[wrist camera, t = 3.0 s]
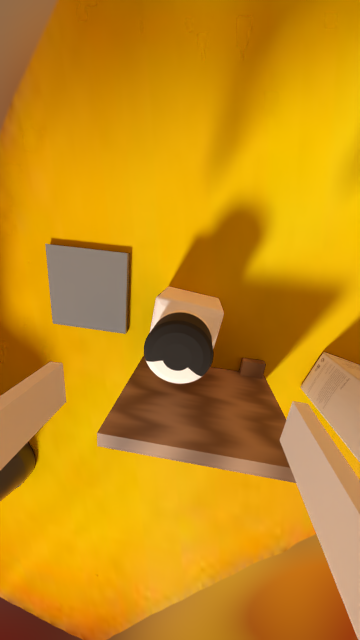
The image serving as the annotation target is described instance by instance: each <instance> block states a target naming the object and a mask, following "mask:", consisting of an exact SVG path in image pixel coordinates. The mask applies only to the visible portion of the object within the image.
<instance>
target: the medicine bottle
mask: <svg viewBox="0 0 360 640" xmlns="http://www.w3.org/2000/svg"><path fill="white" fill-rule="evenodd" d="M223 316H224V311H223V309H222V306H221V303H220V300H219V298H216V297H212V296H207V295H203V294H199V293H195V292H191V291H186V290H182V289H178V288H174V287H167V288H166V289H165V290H164V291H163V292H162V293H160V294H159V295H158V296H157V297H156V301H155V307H154V312H153V318H152V323H151V329H150V333H149V335H148V336H147V338H146V341H145V345H144V356H145V359H146V362H147V364H148V366H149V368H150V369H151V370H152V371H153V372H154V373H155V374H156V375H157V376H158V377H160V378H162V379H163V380H166V381H168V382H172V383H179V384H182V383H189V382H193V381H195V380H197V379H199V378H201V377H202V376H203V375H204V374H205V373H206V372H207V371H208V370H209V368H210V366H211V364H212V360H213V349H214V346H215V343H216V339H217V336H218V333H219V329H220V326H221V323H222V319H223Z"/></svg>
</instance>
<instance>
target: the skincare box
mask: <svg viewBox="0 0 360 640" xmlns="http://www.w3.org/2000/svg"><path fill="white" fill-rule="evenodd" d="M301 389H302V390H303V391H304V393H305V394H306V395H307V396H308V398H309V399H310V400H311V401H312V403H313V404H314V405H315V407H316V408H317V409H318V410H319V412H320V413H321V414H322V415H323V417H324V418H325V419H326V420H327V421H328V423H329V424H330V425H331V427H332V428H333V429H334V430H335V432H336V433H337V434H338V435H339V437H340V438H341V439H342V440H343V442H344V443H345V444H346V445H347V447H348V448H349V449H350V450H351V452H352V453H353V454H354V455H355V457H356V458H357V459H358V460H359V462H360V365H359V364H356V363H353V362H351V361H348V360H345V359H343V358H340V357H337V356H334V355H331V354H328V353H325V352H323V354H322V355H321V356H320V358H319V359H318V361H317V362H316V364H315V365H314V367H313V368H312V370H311V371H310V373H309V375H308V376H307V378H306V379H305V381H304V382H303V384H302V386H301Z"/></svg>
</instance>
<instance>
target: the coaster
mask: <svg viewBox="0 0 360 640" xmlns="http://www.w3.org/2000/svg"><path fill="white" fill-rule="evenodd" d="M46 255H47V265H48V276H49V287H50V297H51V308H52V319H53V323H54V324H61V325H68V326H75V327H82V328H89V329H96V330H103V331H110V332H117V333H124V334H126V333H127V330H128V293H129V256H130V253H122V252H114V251H105V250H96V249H87V248H78V247H69V246H60V245H52V244H46Z"/></svg>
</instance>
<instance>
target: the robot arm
mask: <svg viewBox="0 0 360 640" xmlns="http://www.w3.org/2000/svg"><path fill="white" fill-rule="evenodd" d="M65 402H66V396H65V384H64V373H63V363H57V362H51V361H50V362H49V363H48V364H46V365H45V366H43V367H42V368H40V369H39V370H37V371H36V372H34V373H33V374H32V375H30V376H29V377H27V378H26V379H24V380H23V381H21V382H20V383H18V384H17V385H16V386H14V387H13V388H11V389H10V390H8V391H7V392H5V393H4V394H2V395H1V396H0V501H1V500H2V499H4V498H5V497H6V496H7V495H8V494H10V493H11V492H12V491H13V490H14V489H16V488H17V487H19V486H20V485H21V484H22V483H23V482H24V481H25V480H26V479H27V477H28V476H29V475H30V474H31V472H32V471H33V469H34V467H35V456H34V453H33V451H32V449H31V447H30V445H29V444H28V443H27V442H28V441H29V440H30V439H31V438H32V437H33V436H34V435H35V434H36V433H37V432H38V431H39V430H40V429H41V427H42V426H43V425H44V424H45V423H46V422H47V421H48V420H49V419H50V418H51V417H52V416H53V415H54V414H55V413H56V412H57V411H58V410H59V409H60V408H61V406H62V405H63V404H64V403H65ZM280 443H281V445H282V448H283V450H284V453H285V455H286V458H287V460H288V463H289V466H290V468H291V471H292V473H293V476H294V478H295V481H296V483H297V486H298V488H299V491H300V493H301V496H302V498H303V501H304V504H305V506H306V509H307V511H308V514H309V516H310V519H311V521H312V524H313V526H314V529H315V531H316V534H317V536H318V539H319V541H320V544H321V547H322V549H323V552H324V554H325V557H326V559H327V562H328V564H329V567H330V569H331V572H332V575H333V577H334V580H335V582H336V584H337V587H338V590H339V592H340V595H341V597H342V600H343V602H344V605H345V607H346V610H347V613H348V615H349V617H350V620H351V623H352V625H353V628H354V630H355V633H356V635H357V638H358V640H360V480H359V479H358V477H357V476H356V474H355V473H354V471H353V470H352V468H351V467H350V465H349V464H348V462H347V461H346V459H345V458H344V456H343V455H342V454H341V452H340V451H339V449H338V448H337V446H336V445H335V443H334V442H333V440H332V439H331V437H330V436H329V434H328V433H327V431H326V430H325V429H324V427H323V426H322V424H321V423H320V421H319V420H318V418H317V417H316V415H315V414H314V412H313V411H312V409H311V408H310V406H309V405H308V404H306V403H300V402H294V401H293V402H292V405H291V408H290V411H289V414H288V417H287V420H286V423H285V426H284V429H283V432H282V435H281V437H280Z"/></svg>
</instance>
